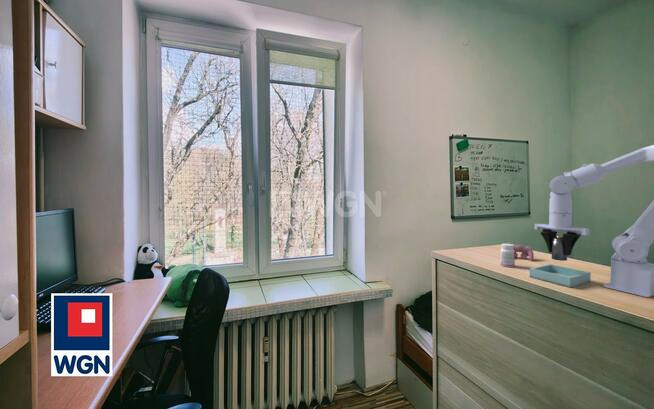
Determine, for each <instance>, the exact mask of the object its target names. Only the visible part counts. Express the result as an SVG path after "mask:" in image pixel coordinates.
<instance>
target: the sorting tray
mask: <svg viewBox="0 0 654 409" xmlns="http://www.w3.org/2000/svg"><path fill="white" fill-rule="evenodd" d="M591 274H592V272H590V271H585V270H580V269H576V268H571V267H568V266H567V267H566V266H562V265H556V264H552V263H547V264H543V265H539V266H535V267H530V268H529V278H532V279H535V280H539V281H543V282H546V283H551V284H554V285H558V286H561V287H565V288H568V289H569V288H570V289H571V288H573V287H577V286H580V285H584V284H587V283H590V282H591Z"/></svg>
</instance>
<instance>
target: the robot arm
mask: <svg viewBox="0 0 654 409" xmlns="http://www.w3.org/2000/svg"><path fill="white" fill-rule="evenodd" d="M642 162H643V163H644V162H654V144H652V145H649V146H645V147H642V148H639V149H637V150H635V151H631V152H630V153H629V152H628V153H626V154H624V155H622V156H619V157H617V158H613V159H611V160H610V161H606V162H604V163H602V164H598V163H585V164H582V165H581V167H579V168H577V169H573V170H572V171H569V172H568V171H565V172H563V175H558V176H556V177H554V178H552V179H551V180H550V182H549V189H550V190H551V191H550V192H549V196H550V198H549V206H548V207H549V211H548V213H549V215H548V223H534V227H533V228H534V230H540V235H541V236H542V238H543V240H544V242H545V244H546V247H547V250H548V253H551V254H552V237H556V236H558V233H562V236H563V238H564V244H565V249H564V254H565V255H566V256H567V257H568V256H571V255H572V251H573V248H574V247H575V244H576V243H577V241H578V240H579V239H580V238H581V235H582V236H589V235H590V228H586V227H580V226H573V225H572V224H573V223H572V222H573V198H572V190H573V189H580V188H583V187H586V186H589V185H591V184H595V183H597V182H601V181H603V179H604V178H605V176H606V175H607V174H608V173H612V172H616V171H619V170H621V169H624V168H627V167H630V166H632V165H635V164H636V165H637V164H638V163H642ZM541 230H542V231H541ZM653 242H654V199H653V200H652V202H650V204H649V205H648V207H647V208H645V210H644V211H643V212H642V214H641V215H640V216H639V217H638V218H637V219H636V221H634V223H633V224H632V225H631V226H630V227H628V228H627V229H626V230H625V231H624V232H623V233H622V234H620V235H618V236H616V237H615V238H613V239H612V241H611V248H612V249H613V250H614V251H615V252H614V253H613V254H612V255H611V256H610V282H609V283H605V284H603V287H604V288H608V289H611V290H616V291H619V292H624V293H629V294H633V295H637V296H640V297H645V298H651V297H653V296H654V263H652V262H648V259H647V257H648V256H649V248H650V247H651V245H652V244H653Z"/></svg>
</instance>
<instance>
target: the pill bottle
mask: <svg viewBox="0 0 654 409" xmlns="http://www.w3.org/2000/svg"><path fill="white" fill-rule="evenodd" d="M514 245H515V244H513V243H501V248H500V253H499V254H500V258H499V259H500V261H499V265H500V266H502V267H505V268H514V267H515V266H516V265H515V262H516V261H515V259H516V258H515V251H514V250H513V249H514Z"/></svg>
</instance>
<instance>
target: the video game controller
mask: <svg viewBox="0 0 654 409" xmlns="http://www.w3.org/2000/svg"><path fill="white" fill-rule="evenodd" d="M513 245H514V249H513V250H514V251H515V259H517V258H518V256H520V258H521V259H523V260H525V259H527V258H529V261H531V262H533V261H534V259H535V256H534V252H533V249H532V248H531V247H530V246H526V245H523V244H513ZM518 253H520V255H519V254H518Z"/></svg>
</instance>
